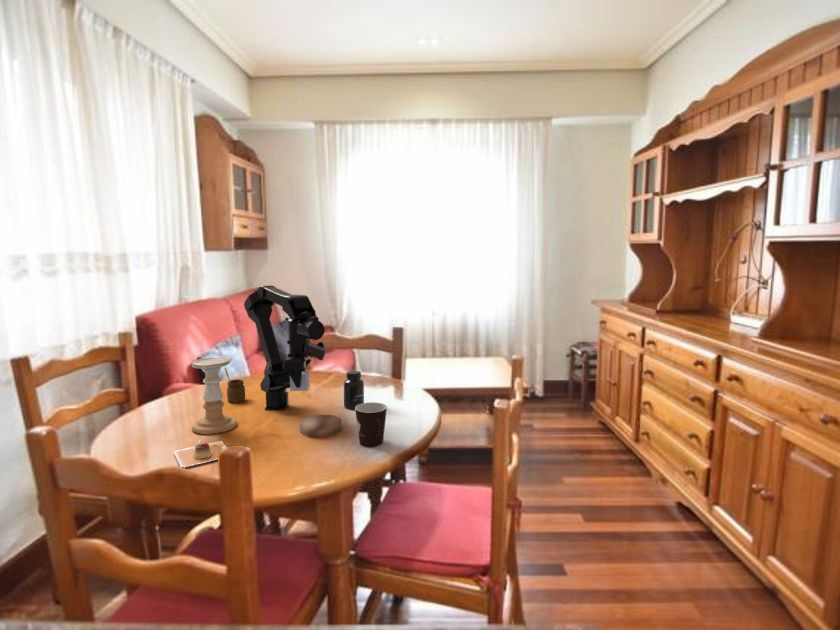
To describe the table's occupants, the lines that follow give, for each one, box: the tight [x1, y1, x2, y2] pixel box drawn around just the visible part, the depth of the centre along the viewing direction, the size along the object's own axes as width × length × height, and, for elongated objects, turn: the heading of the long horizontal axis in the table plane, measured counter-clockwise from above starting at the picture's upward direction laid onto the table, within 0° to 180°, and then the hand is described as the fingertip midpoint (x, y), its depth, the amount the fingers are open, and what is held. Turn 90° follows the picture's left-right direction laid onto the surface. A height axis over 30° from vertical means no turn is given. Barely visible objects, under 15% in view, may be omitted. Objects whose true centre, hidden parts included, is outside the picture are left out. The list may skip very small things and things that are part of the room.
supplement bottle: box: [343, 370, 365, 410], centre depth 160 cm, size 7×7×12 cm
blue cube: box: [289, 370, 310, 392], centre depth 148 cm, size 5×5×5 cm
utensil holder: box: [224, 366, 246, 404], centre depth 167 cm, size 6×6×12 cm
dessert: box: [172, 438, 228, 469], centre depth 121 cm, size 12×12×5 cm
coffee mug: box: [354, 401, 388, 448], centre depth 128 cm, size 12×9×10 cm
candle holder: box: [191, 356, 238, 435], centre depth 140 cm, size 12×12×20 cm
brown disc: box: [299, 414, 343, 438], centre depth 139 cm, size 12×12×2 cm
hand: (299, 385), depth 149 cm, fingers closed on blue cube, 5 cm apart
